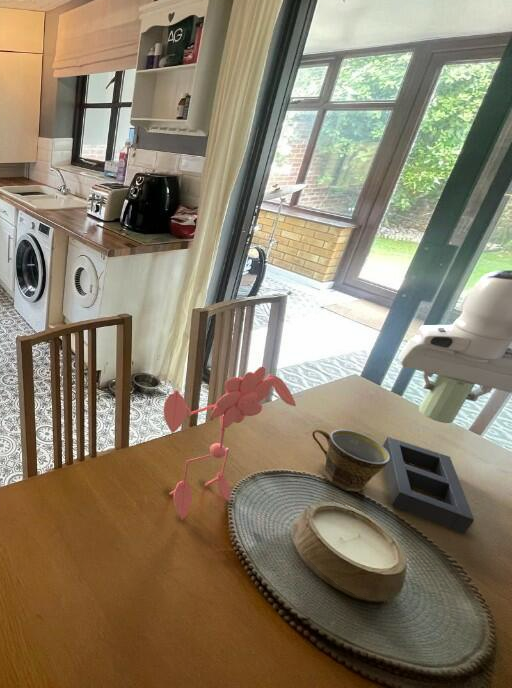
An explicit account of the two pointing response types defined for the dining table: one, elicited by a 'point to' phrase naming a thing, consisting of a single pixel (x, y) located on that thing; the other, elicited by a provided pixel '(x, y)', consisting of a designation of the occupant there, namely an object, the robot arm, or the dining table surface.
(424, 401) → the bottle
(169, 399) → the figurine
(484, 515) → the dining table surface
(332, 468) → the ceramic cup
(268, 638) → the dining table surface
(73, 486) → the dining table surface
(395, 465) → the holder
